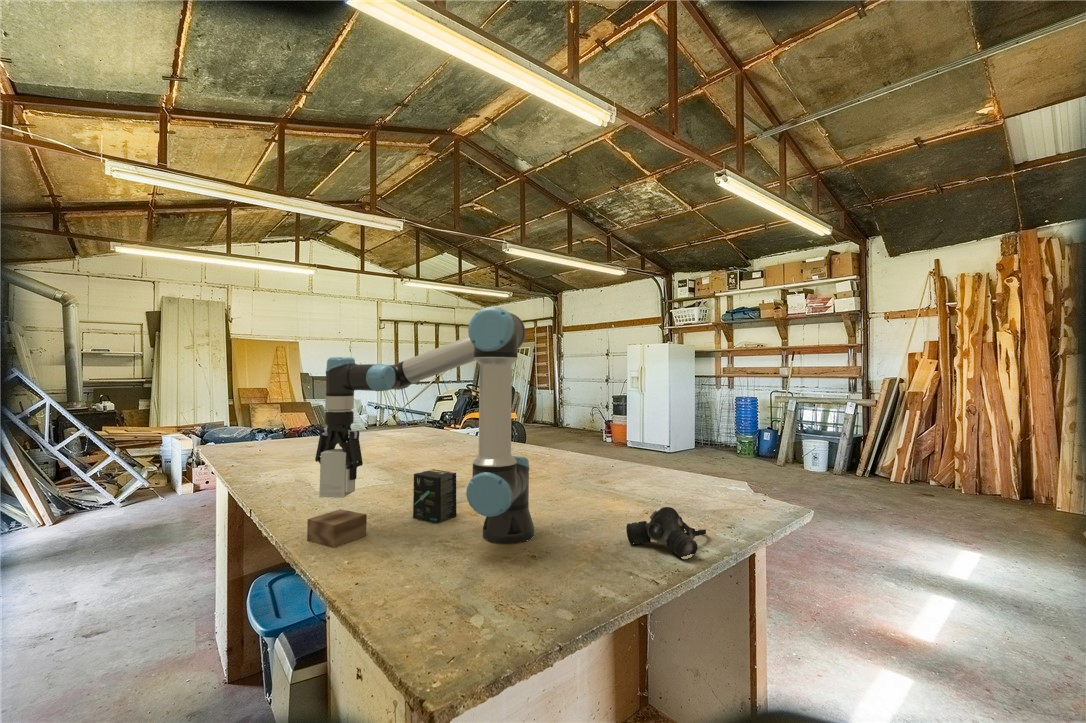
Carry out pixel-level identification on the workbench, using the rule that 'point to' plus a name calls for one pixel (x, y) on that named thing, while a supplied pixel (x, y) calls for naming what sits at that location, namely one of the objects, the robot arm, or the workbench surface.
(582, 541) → the workbench surface
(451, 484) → the tampon box
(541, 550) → the workbench surface
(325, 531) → the walnut block
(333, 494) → the supplement box
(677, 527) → the respirator mask
